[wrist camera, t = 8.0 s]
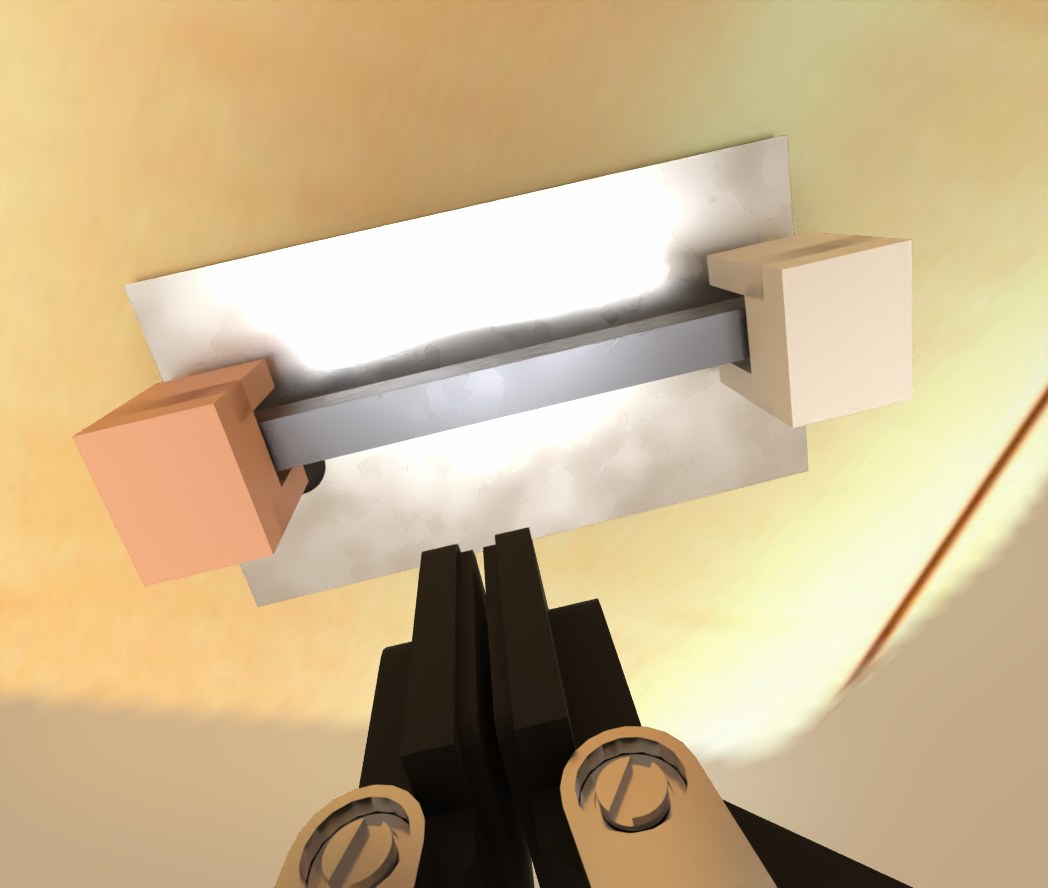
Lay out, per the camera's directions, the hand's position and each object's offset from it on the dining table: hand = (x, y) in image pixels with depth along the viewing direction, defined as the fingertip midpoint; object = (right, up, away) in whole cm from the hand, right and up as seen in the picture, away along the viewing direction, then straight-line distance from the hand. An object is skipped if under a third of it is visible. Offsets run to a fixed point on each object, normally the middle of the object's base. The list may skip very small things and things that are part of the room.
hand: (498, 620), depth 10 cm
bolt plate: (-1, +5, +18) cm, 18 cm away
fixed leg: (+9, +8, +17) cm, 21 cm away
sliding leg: (-11, +3, +16) cm, 19 cm away
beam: (-1, +6, +17) cm, 18 cm away
